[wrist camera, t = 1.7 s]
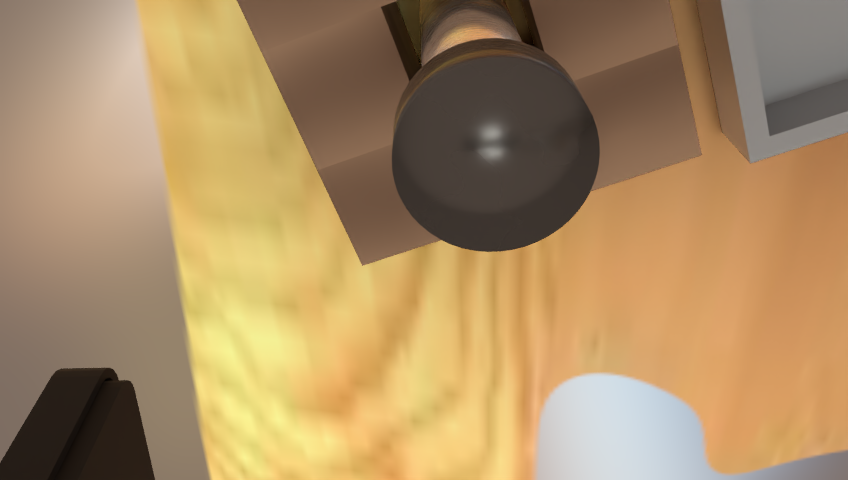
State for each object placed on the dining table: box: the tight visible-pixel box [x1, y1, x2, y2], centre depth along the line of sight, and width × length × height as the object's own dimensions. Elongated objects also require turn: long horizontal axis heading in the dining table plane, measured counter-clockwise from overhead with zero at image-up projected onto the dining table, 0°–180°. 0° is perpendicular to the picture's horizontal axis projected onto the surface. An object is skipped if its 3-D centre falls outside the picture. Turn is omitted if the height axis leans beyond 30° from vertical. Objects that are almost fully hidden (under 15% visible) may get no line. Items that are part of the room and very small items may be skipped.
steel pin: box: [392, 0, 600, 252], centre depth 23 cm, size 4×4×14 cm
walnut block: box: [237, 0, 702, 266], centre depth 27 cm, size 12×12×5 cm
